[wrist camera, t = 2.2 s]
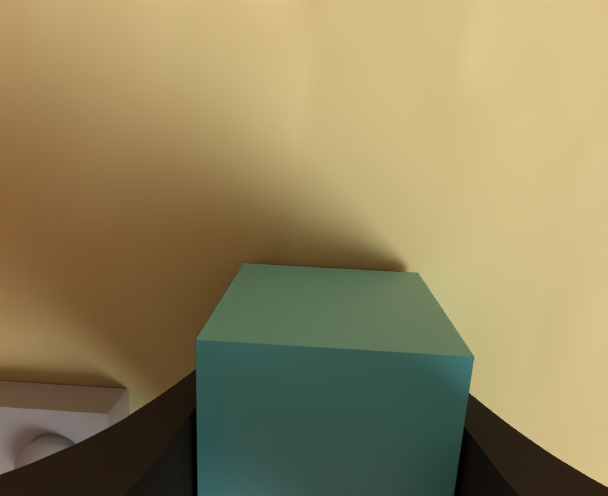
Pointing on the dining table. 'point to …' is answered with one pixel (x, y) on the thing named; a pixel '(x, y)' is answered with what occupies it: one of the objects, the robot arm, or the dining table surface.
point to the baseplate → (52, 418)
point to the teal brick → (329, 386)
